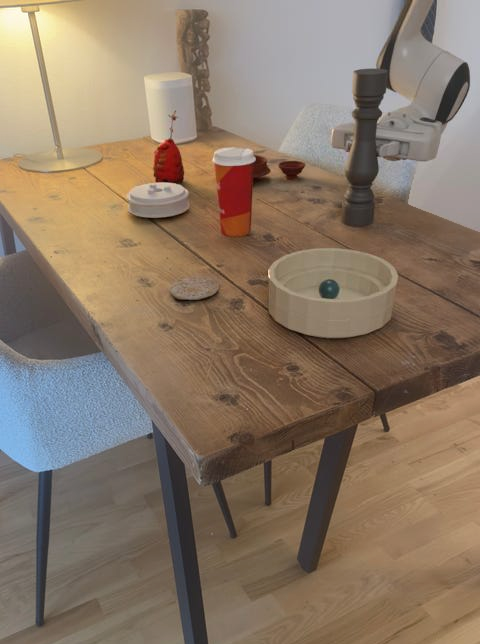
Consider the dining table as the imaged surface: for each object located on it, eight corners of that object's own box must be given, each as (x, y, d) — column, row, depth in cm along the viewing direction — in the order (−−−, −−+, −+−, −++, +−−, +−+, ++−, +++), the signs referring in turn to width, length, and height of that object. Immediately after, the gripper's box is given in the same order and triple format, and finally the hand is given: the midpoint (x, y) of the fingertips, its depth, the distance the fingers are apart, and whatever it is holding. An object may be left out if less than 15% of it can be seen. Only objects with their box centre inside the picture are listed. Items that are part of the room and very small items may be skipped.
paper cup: (227, 222, 111) (224, 144, 103) (262, 227, 109) (262, 148, 100) (208, 235, 106) (203, 155, 97) (244, 241, 103) (243, 159, 94)
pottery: (219, 174, 138) (218, 154, 135) (300, 170, 139) (301, 151, 136) (222, 188, 129) (221, 167, 126) (308, 184, 130) (309, 164, 127)
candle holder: (373, 215, 112) (389, 67, 96) (372, 227, 107) (389, 74, 91) (342, 214, 113) (352, 68, 97) (339, 226, 108) (350, 74, 92)
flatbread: (183, 277, 91) (183, 271, 91) (227, 284, 89) (226, 278, 88) (160, 299, 85) (159, 293, 85) (206, 306, 83) (205, 300, 82)
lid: (200, 214, 115) (198, 189, 112) (143, 226, 110) (139, 200, 107) (173, 198, 124) (171, 174, 121) (119, 209, 119) (116, 184, 116)
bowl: (379, 284, 88) (384, 246, 84) (403, 342, 74) (411, 300, 71) (266, 286, 88) (266, 249, 85) (270, 343, 75) (270, 302, 71)
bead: (339, 274, 82) (336, 282, 79) (342, 294, 83) (339, 302, 81) (319, 277, 83) (315, 285, 80) (322, 296, 84) (318, 304, 82)
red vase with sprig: (156, 178, 136) (148, 108, 127) (185, 177, 136) (180, 107, 127) (153, 187, 130) (145, 114, 121) (184, 186, 130) (178, 113, 121)
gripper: (352, 111, 114) (315, 123, 105) (450, 122, 103) (418, 137, 95) (349, 145, 118) (313, 160, 109) (443, 159, 107) (412, 176, 99)
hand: (363, 149), depth 102 cm, fingers open, 5 cm apart
